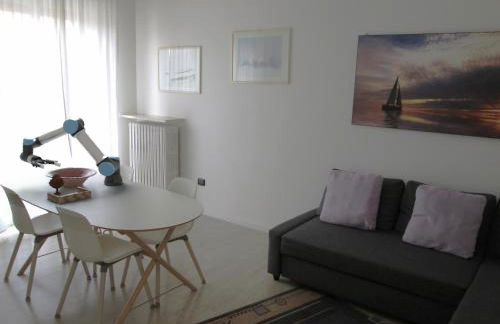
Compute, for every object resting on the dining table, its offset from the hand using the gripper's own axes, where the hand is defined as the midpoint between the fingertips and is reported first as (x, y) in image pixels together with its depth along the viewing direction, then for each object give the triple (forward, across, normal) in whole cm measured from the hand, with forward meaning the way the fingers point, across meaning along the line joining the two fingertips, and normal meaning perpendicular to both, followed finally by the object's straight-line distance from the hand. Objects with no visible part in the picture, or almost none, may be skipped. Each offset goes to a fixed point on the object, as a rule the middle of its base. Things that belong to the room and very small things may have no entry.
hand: (52, 166), depth 310 cm
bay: (+25, +2, -19) cm, 31 cm away
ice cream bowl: (+7, 0, -20) cm, 22 cm away
